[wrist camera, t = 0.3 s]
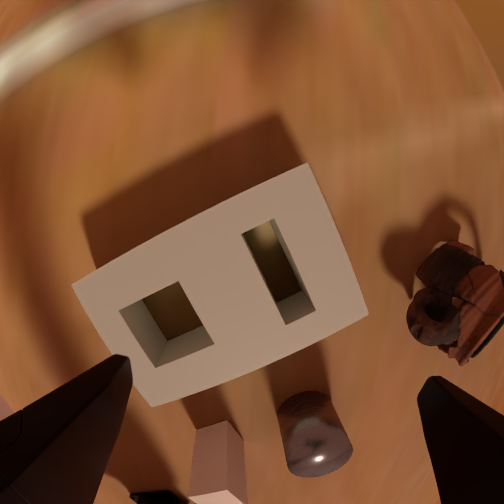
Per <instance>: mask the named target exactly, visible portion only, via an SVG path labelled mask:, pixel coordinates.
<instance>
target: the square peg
mask: <svg viewBox="0 0 504 504" xmlns="http://www.w3.org/2000/svg"><path fill="white" fill-rule="evenodd" d="M188 498H190V499H191V500H192V501H194V502H195V503H196V504H248V502H247V487H246V472H245V455H244V440H243V439H242V438H241V437H240V435H239V434H238V433H237V432H236V430H235V429H234V428H233V427H232V425H231V424H230V423H229V422H228V420H226V421H223V422H220V423H217V424H214V425H211V426H207V427H204V428H201V429H197V430H196V436H195V444H194V451H193V459H192V467H191V476H190V484H189V493H188Z"/></svg>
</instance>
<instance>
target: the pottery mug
mask: <svg viewBox="0 0 504 504" xmlns="http://www.w3.org/2000/svg"><path fill="white" fill-rule="evenodd" d="M471 254H474V249H473V248H472V247H470V246H468V245H465V244H462V243H460V242H458V241H455V240H452V241H449V242H447V243H446V244H443V245H442V246H440V247H439V248H437V249H436V250H435V251H434V252H433V253H432V254H431V255H429V257H428V258H427V259H426V260H425V262H424V263H423V265H422V266H421V267H420V269H419V270H418V272H417V274H416V276H417V277H418V278H419V279H420V280H422V282H423V284H424V285H425V286H426V287H427V288H424V289H421V290H419V291H418V292H417V293H416V294H415V296H414V299H413V301H412V302H411V304H410V305H409V307H408V311H407V315H406V319H407V324H408V328H409V331H410V332H411V334H412V335H413V337H414V338H415V339H416V340H417V341H419V342H420V343H422V344H424V345H427V346H436V345H437V347H438V348H439V350H442V351H444V352H445V353H447V354H448V357H449V358H455V359H456V360H457V361H458V363H459V365H460V366H463V365H465V364H466V363H468V362H469V358H470V357H471V358H474V357H475V356H476V355H478V354H479V353H480V351H482V349H483V348H484V347H485V346H486V345H487V344H488V343H489V342H490V341H491V339H492V338H493V337H494V336H495V334H496V333H497V332H498V331H499V329H500V328H501V327H502V326H503V324H504V272H503V271H502V270H500V272H499V271H498V270H497V269H495V268H494V267H493V266H492V265H485V263H484V262H483V261H482V260H481V259H479V258H476V257H475V256H474V255H471ZM500 276H501V277H500ZM452 297H457V298H459V299H462V300H463V301H464V302H463V303H462V304H461V305H460V307H459V309H457V308H456V307H455V306H452ZM455 339H457V340H455Z"/></svg>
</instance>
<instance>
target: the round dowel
mask: <svg viewBox="0 0 504 504" xmlns="http://www.w3.org/2000/svg"><path fill="white" fill-rule="evenodd" d="M277 417H278V422H279V427H280V432H281V437H282V442H283V447H284V451H285V456H286V461H287V466H288V469H289V471H290V472H291V473H293V474H294V475H296V476H300V477H318V476H322V475H326V474H329V473H331V472H333V471H335V470H337V469H339V468H340V467H341V466H343V465H344V464H345V463H346V462H347V461H348V460H349V459H350V457H351V455H352V452H353V447H352V444H351V442H350V440H349V438H348V436H347V434H346V432H345V430H344V427H343V425H342V423H341V421H340V419H339V417H338V415H337V413H336V410H335V408H334V406H333V404H332V402H331V400H330V398H329V397H328V396H327V395H325V394H323V393H321V392H317V391H306V392H301V393H298V394H295V395H293V396H291V397H290V398H288V399H287V400H286V401H285V402H284V403H283V404H282V405H281V406H280V408H279V410H278V414H277Z"/></svg>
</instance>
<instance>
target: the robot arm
mask: <svg viewBox="0 0 504 504" xmlns="http://www.w3.org/2000/svg"><path fill="white" fill-rule="evenodd" d="M132 384H133V375H132V368H131V361H130V358H129V357H128V356H124V355H120V354H114V355H112V356H110V357H109V358H107V359H105V360H104V361H102V362H100V363H99V364H97V365H95V366H94V367H92V368H90V369H89V370H87V371H85V372H84V373H82V374H80V375H79V376H77V377H75V378H74V379H72V380H70V381H69V382H67V383H65V384H64V385H62V386H60V387H59V388H57V389H55V390H53V391H52V392H50V393H48V394H47V395H45V396H43V397H42V398H40V399H38V400H36V401H35V402H33V403H31V404H30V405H28V406H26V407H24V408H23V411H22V410H19V411H17V412H16V413H14V414H12V415H10V416H8V417H7V418H5V419H3V420H1V421H0V504H93V503H94V500H95V497H96V494H97V491H98V488H99V485H100V483H101V480H102V477H103V474H104V472H105V469H106V466H107V463H108V461H109V458H110V455H111V453H112V450H113V448H114V445H115V442H116V440H117V437H118V435H119V432H120V429H121V425H122V422H123V418H124V414H125V410H126V406H127V403H128V399H129V395H130V392H131V388H132ZM417 402H418V407H419V412H420V416H421V421H422V426H423V432H424V437H425V441H426V445H427V448H428V452H429V455H430V459H431V463H432V466H433V470H434V474H435V478H436V483H437V487H438V491H439V496H440V500H441V504H504V416H503V415H502V414H500V413H499V412H497V411H495V410H494V409H492V408H491V407H489V406H487V405H486V404H484V403H483V402H481V401H479V400H478V399H476V398H475V397H473V396H472V395H470V394H468V393H467V392H465V391H464V390H462V389H460V388H459V387H457V386H456V385H454V384H452V383H451V382H449V381H448V380H446V379H445V378H443V377H441V376H431V377H429V378H428V379H427V380H426V382H425V384H424V385H423V387H422V389H421V391H420V392H419V394H418V397H417ZM129 497H130V498H131V499H132V500H133V501H135V502H136V503H137V504H186V503H184V502H183V501H182V500H180V499H179V498H178V497H177V496H175V495H174V494H173V493H171V492H170V491H157V492H148V493H136V494H130V496H129Z"/></svg>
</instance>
